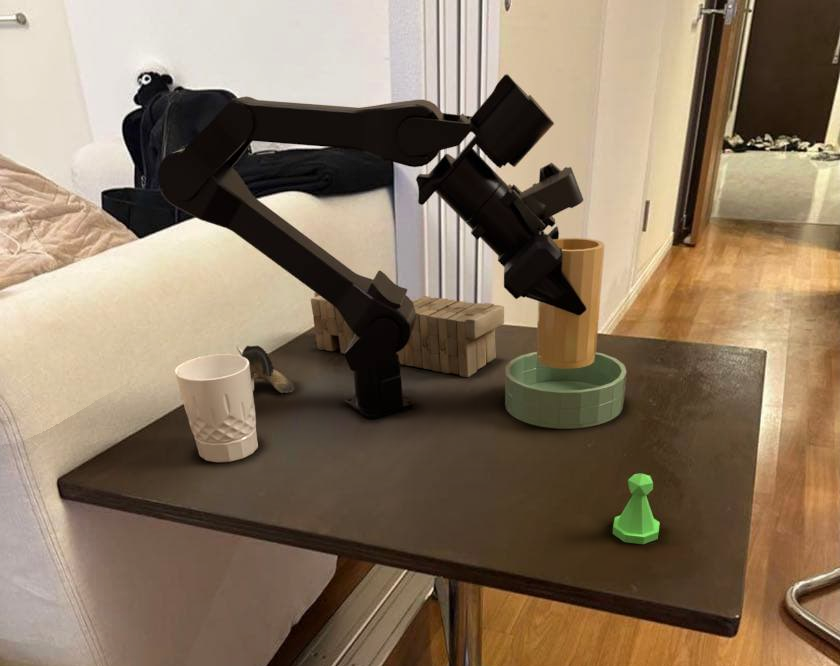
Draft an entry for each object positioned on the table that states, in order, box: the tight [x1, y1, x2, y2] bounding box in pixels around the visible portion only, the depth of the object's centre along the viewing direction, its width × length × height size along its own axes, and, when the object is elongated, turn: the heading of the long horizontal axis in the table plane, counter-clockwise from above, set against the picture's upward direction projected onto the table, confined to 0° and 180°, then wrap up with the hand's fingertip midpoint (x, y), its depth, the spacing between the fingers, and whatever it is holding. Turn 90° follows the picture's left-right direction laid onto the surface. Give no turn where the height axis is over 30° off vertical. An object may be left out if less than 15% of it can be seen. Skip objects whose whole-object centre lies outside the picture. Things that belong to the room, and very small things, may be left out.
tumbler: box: [535, 237, 605, 369], centre depth 90 cm, size 7×7×13 cm
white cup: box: [174, 353, 259, 463], centre depth 88 cm, size 8×8×10 cm
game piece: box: [612, 473, 660, 545], centre depth 70 cm, size 4×4×6 cm
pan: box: [504, 351, 628, 430], centre depth 96 cm, size 14×14×4 cm
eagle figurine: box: [236, 345, 295, 394], centre depth 104 cm, size 8×7×9 cm
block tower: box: [310, 292, 505, 378], centre depth 112 cm, size 8×8×29 cm
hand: (581, 302), depth 90 cm, fingers closed on tumbler, 7 cm apart
